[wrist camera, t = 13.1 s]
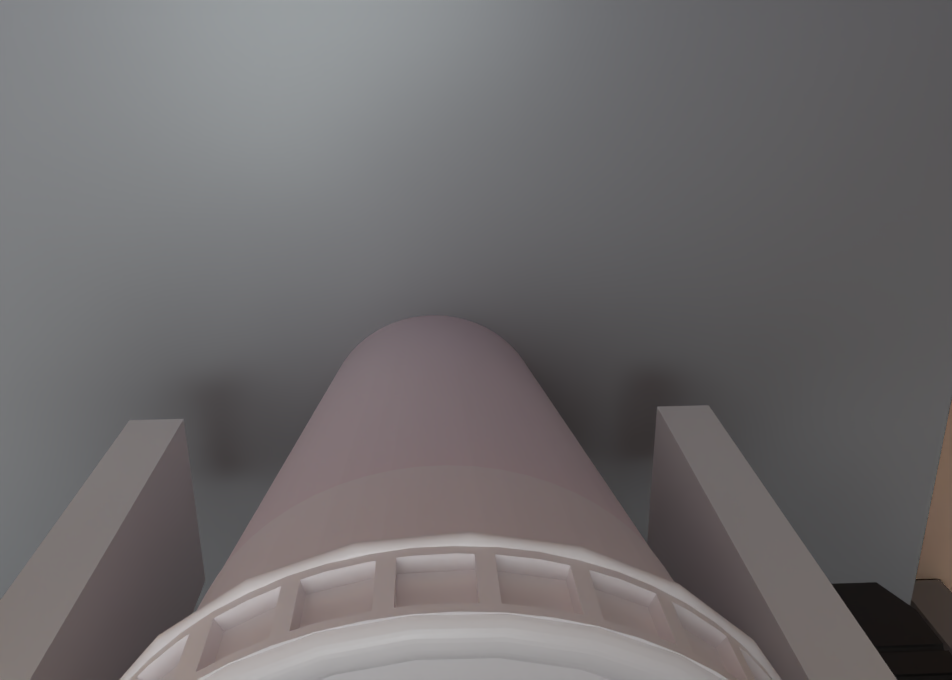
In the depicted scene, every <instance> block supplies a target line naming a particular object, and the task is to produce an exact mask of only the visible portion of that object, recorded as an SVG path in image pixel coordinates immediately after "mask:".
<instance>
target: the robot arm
mask: <svg viewBox="0 0 952 680" xmlns="http://www.w3.org/2000/svg"><path fill="white" fill-rule="evenodd" d="M647 544H648V546H649V547H650V549H651V550H652V551H653V553H654V554H655V555H656V557H657V558H658V559H659V560H660V562H661V563H662V564H663V566H664V567H665V568H666V570H667V572H668V573H669V575H670V576H671V578H672V579H673V581H674V582H676V583H678V584H680V585H681V586H682V587H684V588H685V589H686V590H688V591H689V592H690V593H692V594H693V595H694V596H696V597H697V598H698V599H700V600H701V601H702V602H704V603H705V604H706V605H708V606H709V607H710V608H712V609H713V610H714V611H716V612H717V613H718V614H720V615H721V616H722V617H724V618H725V619H726V620H728V621H729V622H730V623H732V624H733V625H734V626H736V627H737V628H738V629H740V630H741V631H742V632H744V633H745V634H746V635H748V636H749V637H750V638H752V639H753V640H754V641H755V642H756V644H757V645H758V647H759V648H760V650H761V651H762V652H763V654H764V655H765V657H766V658H767V659H768V661H769V662H770V664H771V665H772V667H773V668H774V669H775V671H776V672H777V674H778V675H779V676H780V678H781V679H782V680H952V654H951V653H950V652H949V650H944V648H943V643H942V641H941V640H940V639H939V638H938V636H937V635H936V634H935V633H934V631H933V630H932V629H931V628H930V626H929V625H928V624H927V623H926V621H925V620H924V619H923V618H922V616H921V615H920V614H919V613H918V611H917V610H916V609H914V608H913V607H911V606H910V605H908V604H907V603H906V602H904V601H903V600H901V599H900V598H898V597H897V596H895V595H894V594H893V593H891V592H890V591H888V590H887V589H885V588H884V587H882V586H881V585H880V584H878V583H877V582H867V583H838V584H831V583H830V581H829V580H828V578H827V577H826V575H825V574H824V573H823V571H822V570H821V568H820V567H819V565H818V564H817V562H816V561H815V559H814V558H813V557H812V555H811V554H810V552H809V551H808V549H807V548H806V546H805V545H804V543H803V542H802V541H801V539H800V538H799V536H798V535H797V533H796V532H795V530H794V529H793V527H792V526H791V524H790V523H789V522H788V520H787V519H786V517H785V516H784V514H783V513H782V511H781V510H780V508H779V507H778V506H777V504H776V503H775V501H774V500H773V498H772V497H771V495H770V494H769V492H768V491H767V490H766V488H765V487H764V485H763V484H762V482H761V481H760V479H759V478H758V476H757V475H756V473H755V472H754V471H753V469H752V468H751V466H750V465H749V463H748V462H747V460H746V459H745V457H744V456H743V455H742V453H741V452H740V450H739V449H738V447H737V446H736V444H735V443H734V441H733V440H732V439H731V437H730V436H729V434H728V433H727V431H726V430H725V428H724V427H723V425H722V424H721V422H720V421H719V420H718V418H717V417H716V415H715V414H714V412H713V411H712V409H711V408H710V406H709V405H698V406H659V407H657V414H656V427H655V441H654V455H653V469H652V483H651V496H650V510H649V524H648V538H647ZM204 583H205V573H204V566H203V558H202V551H201V544H200V536H199V529H198V521H197V514H196V507H195V499H194V492H193V484H192V477H191V470H190V462H189V455H188V447H187V440H186V433H185V425H184V419H157V420H129V421H128V423H127V424H126V426H125V427H124V428H123V430H122V431H121V433H120V434H119V435H118V437H117V438H116V440H115V441H114V442H113V444H112V445H111V447H110V448H109V449H108V451H107V452H106V453H105V455H104V456H103V458H102V459H101V460H100V462H99V463H98V465H97V466H96V467H95V469H94V470H93V472H92V473H91V474H90V476H89V477H88V479H87V480H86V481H85V483H84V484H83V486H82V487H81V488H80V490H79V491H78V493H77V494H76V495H75V497H74V498H73V500H72V501H71V502H70V504H69V505H68V506H67V508H66V509H65V511H64V512H63V513H62V515H61V516H60V518H59V519H58V520H57V522H56V523H55V525H54V526H53V527H52V529H51V530H50V532H49V533H48V534H47V536H46V537H45V539H44V540H43V541H42V543H41V544H40V546H39V547H38V548H37V550H36V551H35V553H34V554H33V555H32V557H31V558H30V559H29V561H28V562H27V564H26V565H25V566H24V568H23V569H22V571H21V572H20V573H19V575H18V576H17V578H16V579H15V580H14V582H13V583H12V585H11V586H10V587H9V589H8V590H7V592H6V593H5V594H4V596H3V597H2V599H1V600H0V680H119V679H120V678H121V677H122V676H123V675H124V673H125V672H126V671H127V670H128V669H129V668H130V667H131V666H132V664H133V663H134V662H135V661H136V660H137V659H138V658H139V656H140V655H141V654H142V653H143V652H144V651H145V650H146V648H147V647H148V646H149V645H150V644H151V643H152V642H153V641H154V639H155V638H156V637H157V636H158V635H159V634H161V633H163V632H164V631H166V630H167V629H169V628H170V627H172V626H173V625H175V624H177V623H178V622H180V621H181V620H183V619H184V618H186V617H188V616H189V615H191V614H192V613H193V611H194V609H195V606H196V603H197V601H198V598H199V596H200V593H201V590H202V588H203V585H204Z"/></svg>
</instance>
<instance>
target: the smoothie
mask: <svg viewBox="0 0 952 680" xmlns="http://www.w3.org/2000/svg"><path fill="white" fill-rule="evenodd" d="M119 680H782V679H781V678H780V676H779V675H778V674H777V672H776V671H775V669H774V668H773V667H772V665H771V664H770V662H769V661H768V659H767V658H766V657H765V655H764V654H763V652H762V651H761V650H760V648H759V647H758V645H757V644H756V642H755V641H754V640H753V639H752V638H750V637H749V636H748V635H746V634H745V633H744V632H742V631H741V630H740V629H738V628H737V627H736V626H734V625H733V624H732V623H730V622H729V621H728V620H726V619H725V618H724V617H722V616H721V615H720V614H718V613H717V612H716V611H714V610H713V609H712V608H710V607H709V606H708V605H706V604H705V603H704V602H702V601H701V600H700V599H698V598H697V597H696V596H694V595H693V594H692V593H690V592H689V591H688V590H686V589H685V588H684V587H682V586H681V585H680V584H678V583H676V582H674V581H673V579H672V578H671V576H670V575H669V573H668V572H667V570H666V568H665V567H664V566H663V564H662V563H661V562H660V560H659V559H658V558H657V557H656V555H655V554H654V553H653V551H652V550H651V549H650V547H649V546H648V544H647V543H646V541H645V540H644V538H643V537H642V535H641V534H640V532H639V531H638V529H637V528H636V527H635V525H634V524H633V522H632V521H631V519H630V518H629V516H628V515H627V513H626V512H625V510H624V509H623V507H622V506H621V504H620V503H619V501H618V500H617V498H616V497H615V495H614V494H613V492H612V491H611V490H610V488H609V487H608V485H607V484H606V482H605V481H604V479H603V478H602V476H601V475H600V473H599V472H598V470H597V469H596V467H595V466H594V464H593V463H592V461H591V460H590V458H589V457H588V456H587V454H586V453H585V451H584V450H583V448H582V447H581V445H580V444H579V442H578V441H577V439H576V438H575V436H574V435H573V433H572V432H571V430H570V429H569V427H568V426H567V424H566V423H565V421H564V420H563V419H562V417H561V416H560V414H559V413H558V411H557V410H556V408H555V407H554V405H553V404H552V402H551V401H550V399H549V398H548V396H547V395H546V393H545V392H544V390H543V389H542V387H541V386H540V385H539V383H538V382H537V380H536V379H535V377H534V376H533V374H532V373H531V371H530V370H529V368H528V367H527V365H526V364H525V362H524V361H523V359H522V358H521V357H520V355H519V354H518V353H517V352H516V351H515V350H514V348H513V347H512V346H511V345H510V344H509V343H507V342H506V341H505V340H504V339H503V338H501V337H500V336H499V335H497V334H496V333H494V332H493V331H491V330H489V329H487V328H486V327H483V326H481V325H479V324H477V323H474V322H471V321H468V320H465V319H461V318H457V317H450V316H440V315H428V316H418V317H412V318H407V319H403V320H400V321H397V322H394V323H392V324H389V325H387V326H385V327H383V328H381V329H379V330H377V331H376V332H374V333H372V334H371V335H370V336H368V337H367V338H365V339H364V340H363V341H362V342H361V343H360V344H358V345H357V346H356V347H355V348H354V350H353V351H352V352H351V353H350V354H349V355H348V357H347V358H346V359H345V361H344V362H343V364H342V365H341V367H340V369H339V370H338V372H337V374H336V376H335V377H334V379H333V381H332V382H331V384H330V386H329V387H328V389H327V391H326V393H325V394H324V396H323V398H322V399H321V401H320V403H319V405H318V406H317V408H316V410H315V411H314V413H313V415H312V416H311V418H310V420H309V422H308V423H307V425H306V427H305V428H304V430H303V432H302V433H301V435H300V437H299V439H298V440H297V442H296V444H295V445H294V447H293V449H292V451H291V452H290V454H289V456H288V457H287V459H286V461H285V462H284V464H283V466H282V468H281V469H280V471H279V473H278V474H277V476H276V478H275V479H274V481H273V483H272V485H271V486H270V488H269V490H268V491H267V493H266V495H265V497H264V498H263V500H262V502H261V503H260V505H259V507H258V508H257V510H256V512H255V514H254V515H253V517H252V519H251V520H250V522H249V524H248V525H247V527H246V529H245V531H244V532H243V534H242V536H241V537H240V539H239V541H238V543H237V544H236V546H235V548H234V549H233V551H232V553H231V554H230V556H229V558H228V560H227V561H226V563H225V565H224V566H223V568H222V570H221V571H220V572H219V574H218V575H217V577H216V578H215V580H214V581H213V583H212V585H211V586H210V588H209V589H208V591H207V593H206V594H205V596H204V598H203V600H202V601H201V603H200V605H199V607H198V609H197V610H196V611H195V612H194V613H192V614H191V615H189V616H188V617H186V618H184V619H183V620H181V621H180V622H178V623H177V624H175V625H173V626H172V627H170V628H169V629H167V630H166V631H164V632H163V633H161V634H159V635H158V636H157V637H156V638H155V639H154V641H153V642H152V643H151V644H150V645H149V646H148V647H147V648H146V650H145V651H144V652H143V653H142V654H141V655H140V656H139V658H138V659H137V660H136V661H135V662H134V663H133V664H132V666H131V667H130V668H129V669H128V670H127V671H126V672H125V673H124V675H123V676H122V677H121V678H120V679H119Z"/></svg>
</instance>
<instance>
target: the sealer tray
mask: <svg viewBox="0 0 952 680" xmlns="http://www.w3.org/2000/svg"><path fill="white" fill-rule="evenodd" d="M428 315H440V316H450V317H457V318H461V319H465V320H468V321H471V322H474V323H477V324H479V325H481V326H483V327H486V328H487V329H489V330H491V331H493V332H494V333H496V334H497V335H499V336H500V337H501V338H503V339H504V340H505V341H506V342H507V343H509V344H510V345H511V346H512V347H513V348H514V350H515V351H516V352H517V353H518V354H519V355H520V357H521V358H522V359H523V361H524V362H525V364H526V365H527V367H528V368H529V370H530V371H531V373H532V374H533V376H534V377H535V379H536V380H537V382H538V383H539V385H540V386H541V387H542V389H543V390H544V392H545V393H546V395H547V396H548V398H549V399H550V401H551V402H552V404H553V405H554V407H555V408H556V410H557V411H558V413H559V414H560V416H561V417H562V419H563V420H564V421H565V423H566V424H567V426H568V427H569V429H570V430H571V432H572V433H573V435H574V436H575V438H576V439H577V441H578V442H579V444H580V445H581V447H582V448H583V450H584V451H585V453H586V454H587V456H588V457H589V458H590V460H591V461H592V463H593V464H594V466H595V467H596V469H597V470H598V472H599V473H600V475H601V476H602V478H603V479H604V481H605V482H606V484H607V485H608V487H609V488H610V490H611V491H612V492H613V494H614V495H615V497H616V498H617V500H618V501H619V503H620V504H621V506H622V507H623V509H624V510H625V512H626V513H627V515H628V516H629V518H630V519H631V521H632V522H633V524H634V525H635V527H636V528H637V529H638V531H639V532H640V534H641V535H642V537H643V538H644V540H645V541H646V543H647V538H648V524H649V510H650V496H651V483H652V469H653V455H654V441H655V427H656V414H657V407H659V406H698V405H709V406H710V408H711V409H712V411H713V412H714V414H715V415H716V417H717V418H718V420H719V421H720V422H721V424H722V425H723V427H724V428H725V430H726V431H727V433H728V434H729V436H730V437H731V439H732V440H733V441H734V443H735V444H736V446H737V447H738V449H739V450H740V452H741V453H742V455H743V456H744V457H745V459H746V460H747V462H748V463H749V465H750V466H751V468H752V469H753V471H754V472H755V473H756V475H757V476H758V478H759V479H760V481H761V482H762V484H763V485H764V487H765V488H766V490H767V491H768V492H769V494H770V495H771V497H772V498H773V500H774V501H775V503H776V504H777V506H778V507H779V508H780V510H781V511H782V513H783V514H784V516H785V517H786V519H787V520H788V522H789V523H790V524H791V526H792V527H793V529H794V530H795V532H796V533H797V535H798V536H799V538H800V539H801V541H802V542H803V543H804V545H805V546H806V548H807V549H808V551H809V552H810V554H811V555H812V557H813V558H814V559H815V561H816V562H817V564H818V565H819V567H820V568H821V570H822V571H823V573H824V574H825V575H826V577H827V578H828V580H829V581H830V583H831V584H838V583H867V582H877V583H878V584H880V585H881V586H882V587H884V588H885V589H887V590H888V591H890V592H891V593H893V594H894V595H895V596H897V597H898V598H900V599H901V600H903V601H904V602H906V603H907V604H908V605H910V604H911V599H912V594H913V589H914V584H915V579H916V574H917V569H918V564H919V559H920V554H921V549H922V544H923V539H924V534H925V529H926V524H927V519H928V514H929V509H930V504H931V499H932V494H933V489H934V484H935V479H936V474H937V469H938V464H939V459H940V454H941V449H942V444H943V439H944V434H945V429H946V424H947V419H948V414H949V409H950V404H951V399H952V0H0V600H1V599H2V597H3V596H4V594H5V593H6V592H7V590H8V589H9V587H10V586H11V585H12V583H13V582H14V580H15V579H16V578H17V576H18V575H19V573H20V572H21V571H22V569H23V568H24V566H25V565H26V564H27V562H28V561H29V559H30V558H31V557H32V555H33V554H34V553H35V551H36V550H37V548H38V547H39V546H40V544H41V543H42V541H43V540H44V539H45V537H46V536H47V534H48V533H49V532H50V530H51V529H52V527H53V526H54V525H55V523H56V522H57V520H58V519H59V518H60V516H61V515H62V513H63V512H64V511H65V509H66V508H67V506H68V505H69V504H70V502H71V501H72V500H73V498H74V497H75V495H76V494H77V493H78V491H79V490H80V488H81V487H82V486H83V484H84V483H85V481H86V480H87V479H88V477H89V476H90V474H91V473H92V472H93V470H94V469H95V467H96V466H97V465H98V463H99V462H100V460H101V459H102V458H103V456H104V455H105V453H106V452H107V451H108V449H109V448H110V447H111V445H112V444H113V442H114V441H115V440H116V438H117V437H118V435H119V434H120V433H121V431H122V430H123V428H124V427H125V426H126V424H127V423H128V421H129V420H157V419H184V425H185V433H186V440H187V447H188V455H189V462H190V470H191V477H192V484H193V492H194V499H195V507H196V514H197V521H198V529H199V536H200V544H201V551H202V558H203V566H204V573H205V583H204V585H203V588H202V590H201V593H200V596H199V598H198V601H197V603H196V606H195V609H194V611H193V613H194V612H195V611H196V610H197V609H198V607H199V605H200V603H201V601H202V600H203V598H204V596H205V594H206V593H207V591H208V589H209V588H210V586H211V585H212V583H213V581H214V580H215V578H216V577H217V575H218V574H219V572H220V571H221V570H222V568H223V566H224V565H225V563H226V561H227V560H228V558H229V556H230V554H231V553H232V551H233V549H234V548H235V546H236V544H237V543H238V541H239V539H240V537H241V536H242V534H243V532H244V531H245V529H246V527H247V525H248V524H249V522H250V520H251V519H252V517H253V515H254V514H255V512H256V510H257V508H258V507H259V505H260V503H261V502H262V500H263V498H264V497H265V495H266V493H267V491H268V490H269V488H270V486H271V485H272V483H273V481H274V479H275V478H276V476H277V474H278V473H279V471H280V469H281V468H282V466H283V464H284V462H285V461H286V459H287V457H288V456H289V454H290V452H291V451H292V449H293V447H294V445H295V444H296V442H297V440H298V439H299V437H300V435H301V433H302V432H303V430H304V428H305V427H306V425H307V423H308V422H309V420H310V418H311V416H312V415H313V413H314V411H315V410H316V408H317V406H318V405H319V403H320V401H321V399H322V398H323V396H324V394H325V393H326V391H327V389H328V387H329V386H330V384H331V382H332V381H333V379H334V377H335V376H336V374H337V372H338V370H339V369H340V367H341V365H342V364H343V362H344V361H345V359H346V358H347V357H348V355H349V354H350V353H351V352H352V351H353V350H354V348H355V347H356V346H357V345H358V344H360V343H361V342H362V341H363V340H364V339H365V338H367V337H368V336H370V335H371V334H372V333H374V332H376V331H377V330H379V329H381V328H383V327H385V326H387V325H389V324H392V323H394V322H397V321H400V320H403V319H407V318H412V317H418V316H428Z"/></svg>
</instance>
